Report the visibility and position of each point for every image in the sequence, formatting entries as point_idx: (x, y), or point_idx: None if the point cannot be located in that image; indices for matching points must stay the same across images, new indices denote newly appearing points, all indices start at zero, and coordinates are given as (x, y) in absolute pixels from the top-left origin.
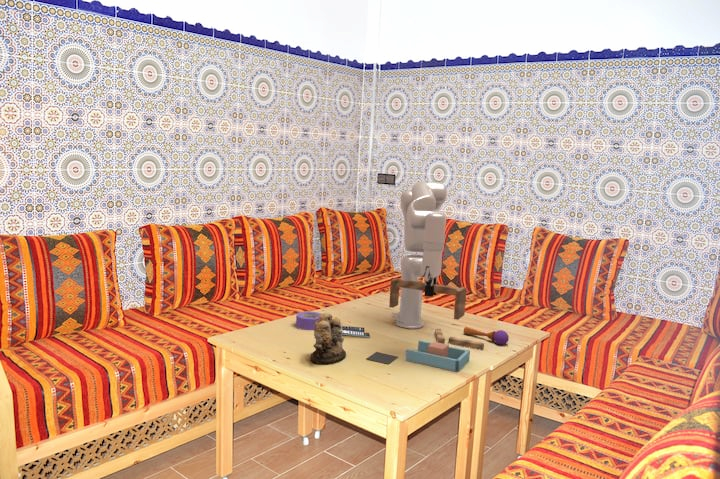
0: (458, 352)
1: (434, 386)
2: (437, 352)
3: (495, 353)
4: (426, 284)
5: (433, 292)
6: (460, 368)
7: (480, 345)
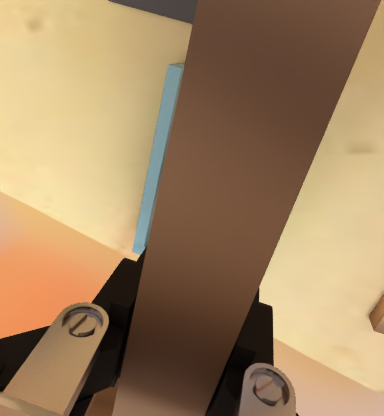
0: None
1: (21, 173)
2: None
3: (342, 345)
4: (47, 329)
5: None
6: None
7: (376, 323)
